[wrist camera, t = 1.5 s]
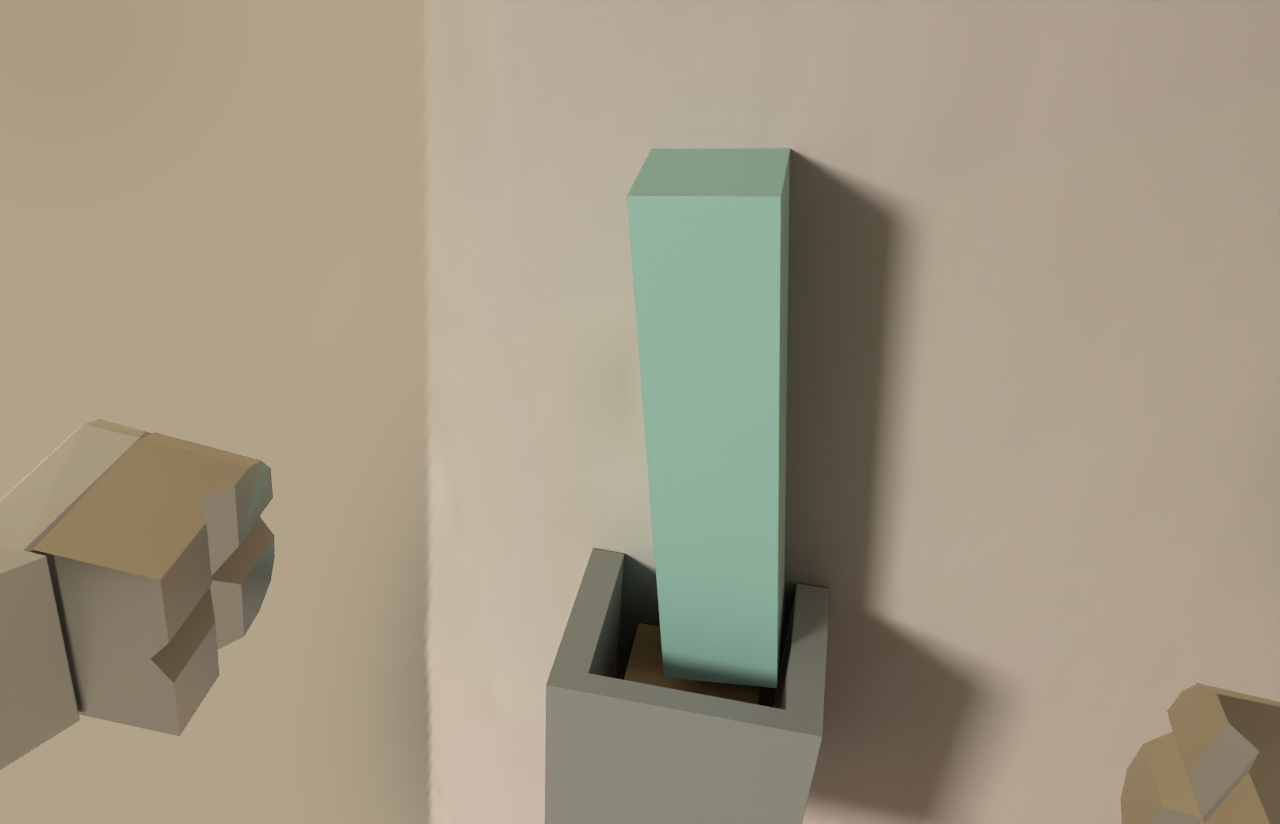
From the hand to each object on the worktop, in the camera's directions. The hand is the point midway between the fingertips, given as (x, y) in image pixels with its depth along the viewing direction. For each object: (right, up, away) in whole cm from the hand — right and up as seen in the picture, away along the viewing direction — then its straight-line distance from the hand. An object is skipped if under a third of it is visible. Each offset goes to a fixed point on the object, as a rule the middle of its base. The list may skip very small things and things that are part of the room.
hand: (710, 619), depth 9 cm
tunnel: (+2, -8, +32) cm, 33 cm away
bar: (+2, +2, +26) cm, 26 cm away
